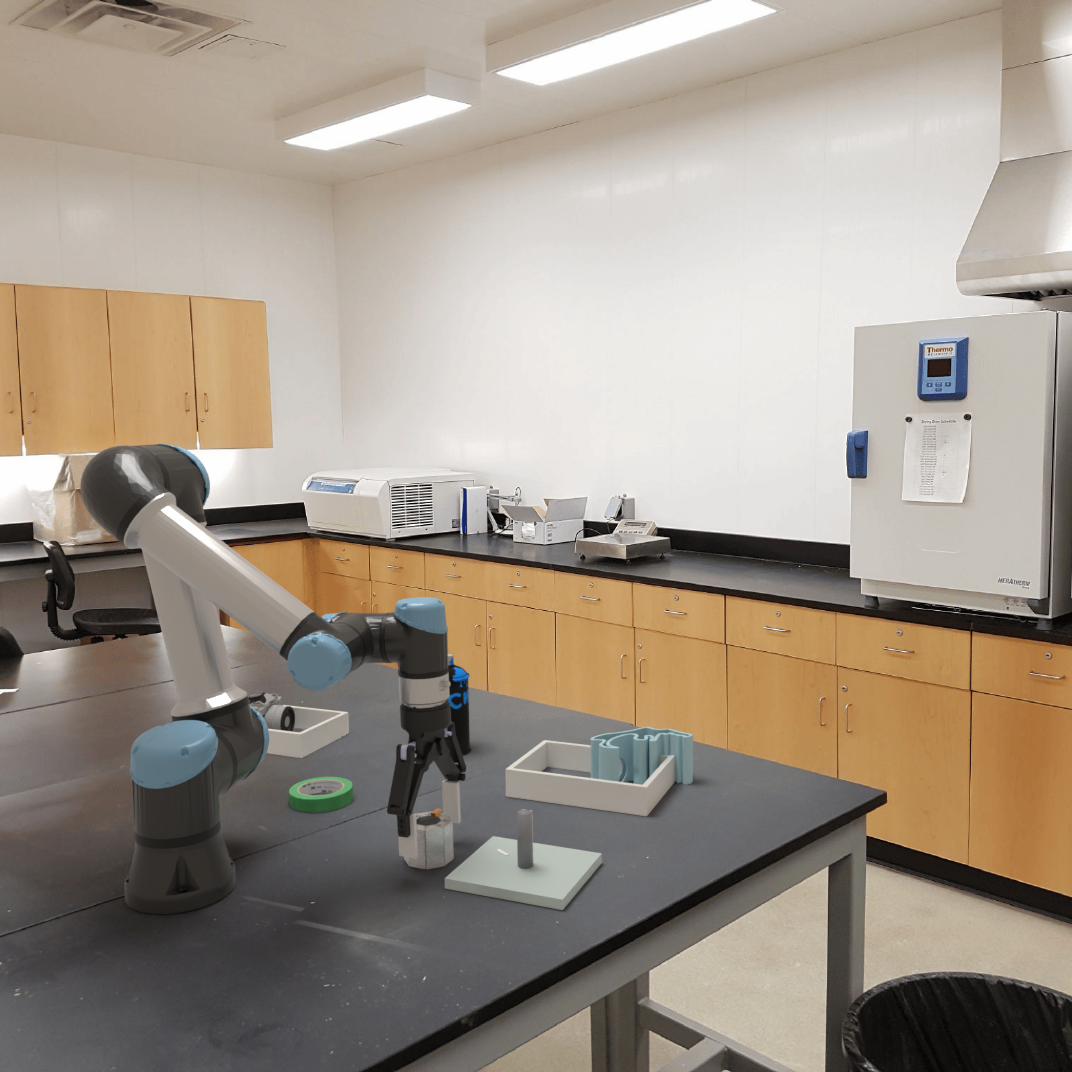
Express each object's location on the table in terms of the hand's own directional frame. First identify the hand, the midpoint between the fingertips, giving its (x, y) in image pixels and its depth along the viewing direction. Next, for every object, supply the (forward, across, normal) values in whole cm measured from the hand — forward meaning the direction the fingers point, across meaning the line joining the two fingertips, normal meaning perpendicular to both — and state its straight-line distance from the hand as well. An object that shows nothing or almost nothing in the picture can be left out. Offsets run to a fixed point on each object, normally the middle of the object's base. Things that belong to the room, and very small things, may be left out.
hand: (431, 838), depth 152 cm
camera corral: (+2, +41, +60) cm, 72 cm away
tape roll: (+3, +15, +30) cm, 34 cm away
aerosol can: (+3, +47, +22) cm, 52 cm away
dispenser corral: (+4, +37, -12) cm, 39 cm away
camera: (+2, +41, +62) cm, 74 cm away
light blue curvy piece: (+4, +42, -20) cm, 47 cm away
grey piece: (+3, 0, 0) cm, 3 cm away
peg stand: (+4, 0, -16) cm, 16 cm away
